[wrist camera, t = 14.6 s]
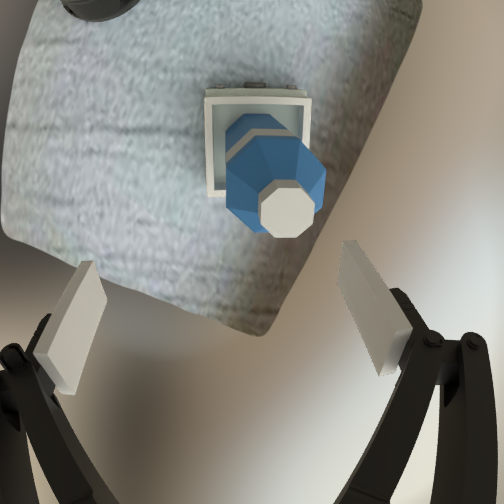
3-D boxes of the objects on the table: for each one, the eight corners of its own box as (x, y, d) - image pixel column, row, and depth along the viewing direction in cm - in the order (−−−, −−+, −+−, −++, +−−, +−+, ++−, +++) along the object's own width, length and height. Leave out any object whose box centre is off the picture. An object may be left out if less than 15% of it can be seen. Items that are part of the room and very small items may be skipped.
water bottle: (298, 127, 44) (371, 182, 22) (271, 183, 48) (312, 282, 26) (238, 101, 41) (254, 127, 20) (212, 160, 45) (202, 246, 24)
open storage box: (207, 83, 44) (203, 84, 37) (298, 84, 45) (312, 85, 38) (209, 185, 52) (207, 203, 45) (294, 184, 53) (305, 201, 46)
